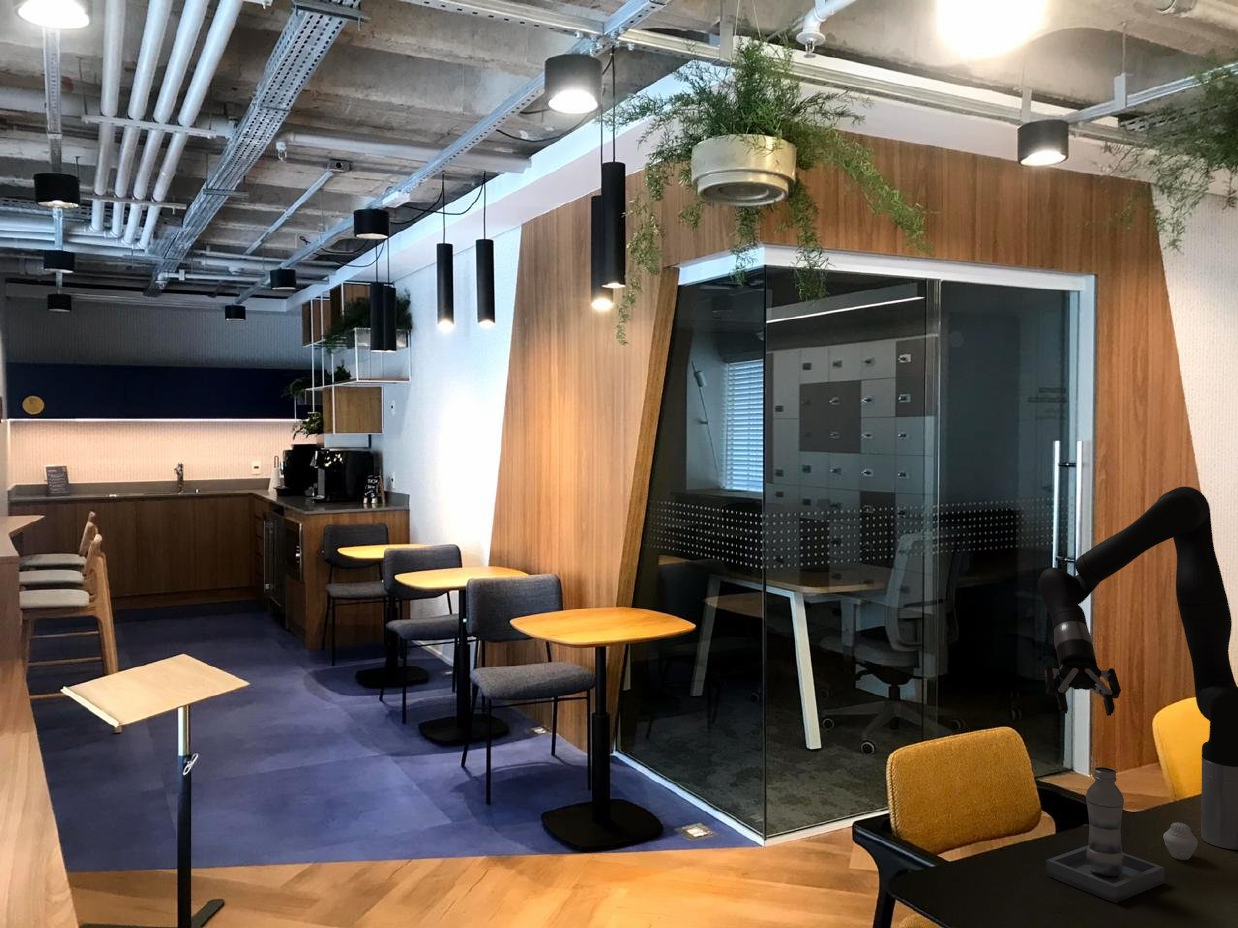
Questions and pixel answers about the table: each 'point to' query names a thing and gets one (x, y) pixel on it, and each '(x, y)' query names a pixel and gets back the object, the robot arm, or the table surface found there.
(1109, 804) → the plastic bottle
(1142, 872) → the tray
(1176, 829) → the muffin
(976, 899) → the table surface
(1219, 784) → the robot arm
